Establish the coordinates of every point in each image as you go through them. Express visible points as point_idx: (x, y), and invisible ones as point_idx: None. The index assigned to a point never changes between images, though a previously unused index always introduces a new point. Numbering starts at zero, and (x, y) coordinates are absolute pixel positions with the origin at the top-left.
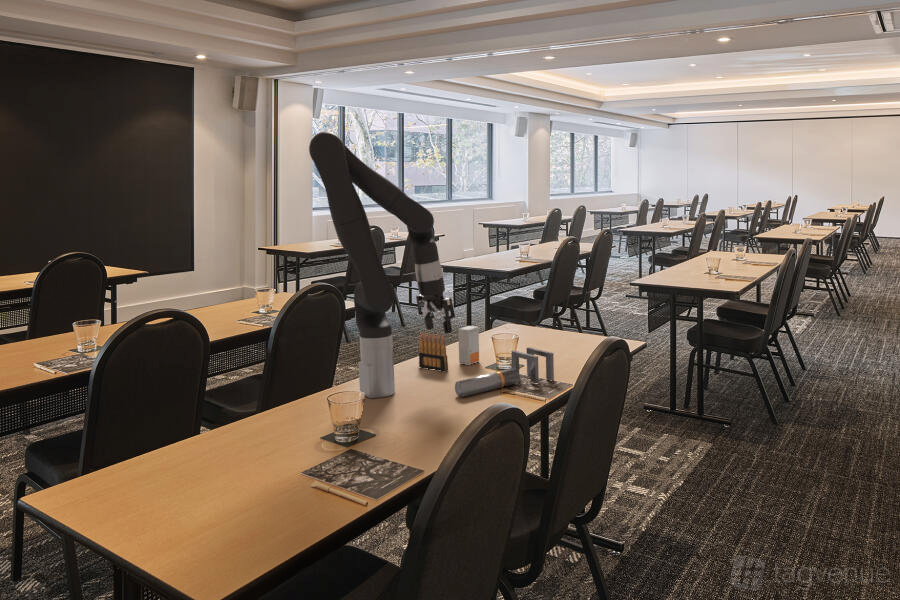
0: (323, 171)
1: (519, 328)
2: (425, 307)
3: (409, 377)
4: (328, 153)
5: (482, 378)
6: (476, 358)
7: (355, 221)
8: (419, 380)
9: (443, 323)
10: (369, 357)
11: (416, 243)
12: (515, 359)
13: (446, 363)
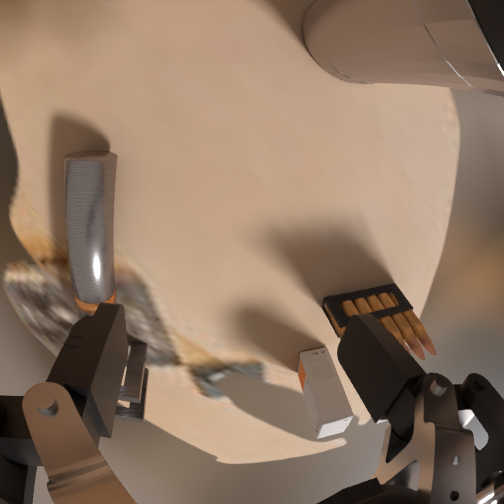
0: None
1: (338, 443)
2: (449, 493)
3: (378, 212)
4: None
5: (70, 244)
6: (300, 375)
7: None
8: (338, 205)
9: (81, 369)
10: None
11: None
12: (126, 380)
13: (330, 318)
